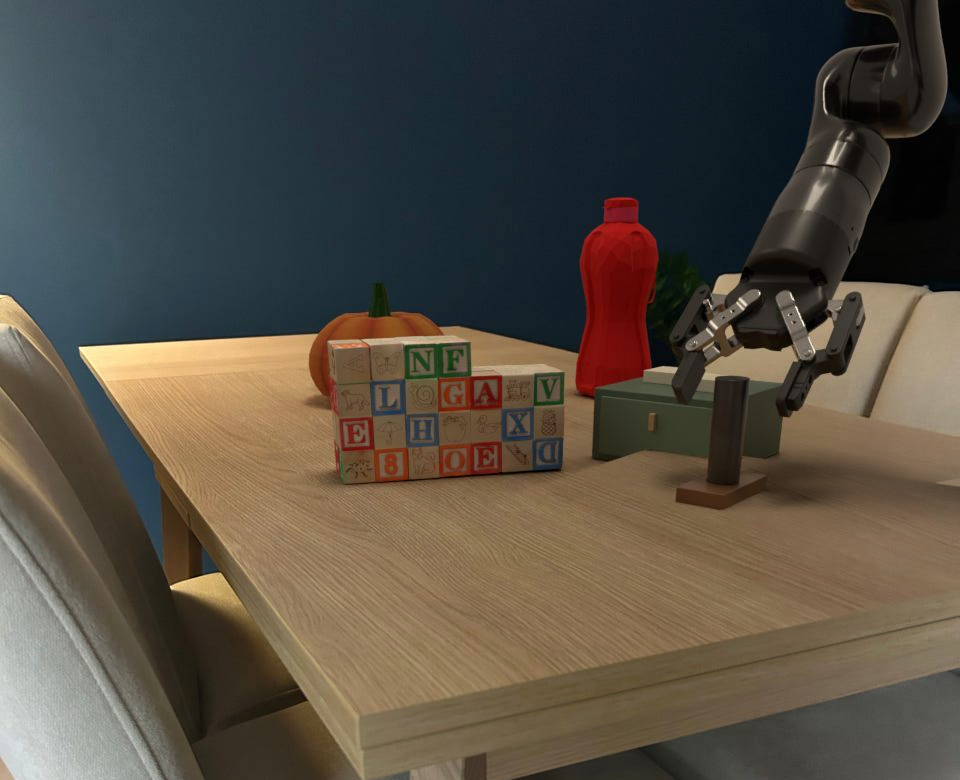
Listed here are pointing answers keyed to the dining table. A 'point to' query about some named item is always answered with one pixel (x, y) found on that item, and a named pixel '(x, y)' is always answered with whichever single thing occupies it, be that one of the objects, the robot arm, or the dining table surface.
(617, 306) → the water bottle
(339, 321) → the pumpkin
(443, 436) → the stack of blocks
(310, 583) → the dining table surface
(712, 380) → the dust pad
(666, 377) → the block
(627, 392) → the cabinet
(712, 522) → the dining table surface
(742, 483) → the brush
